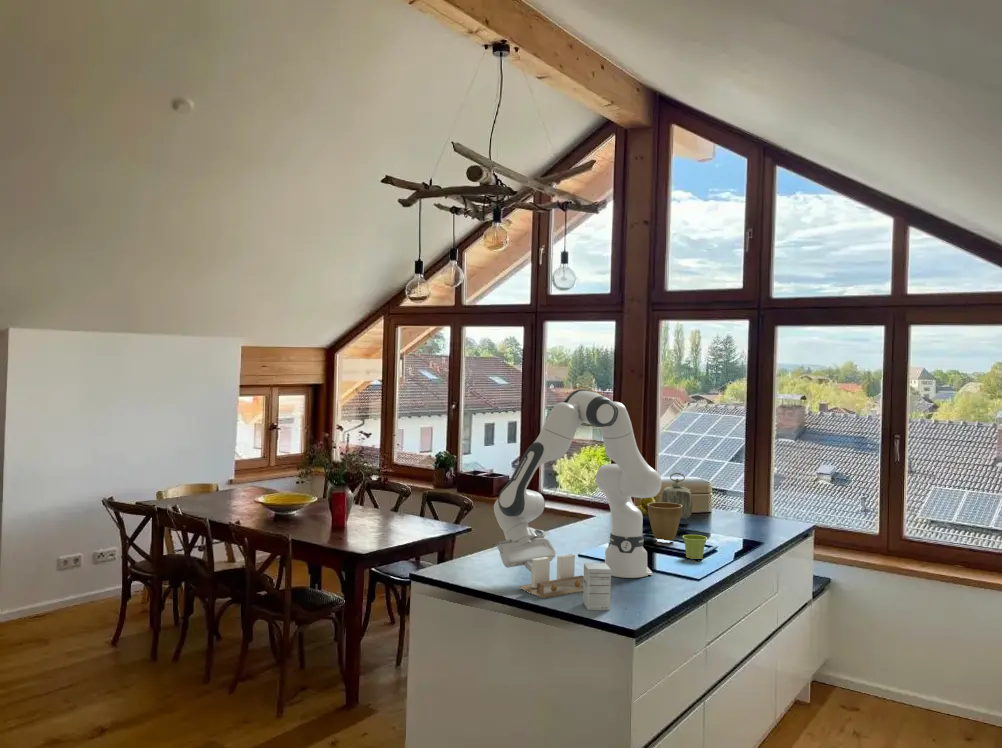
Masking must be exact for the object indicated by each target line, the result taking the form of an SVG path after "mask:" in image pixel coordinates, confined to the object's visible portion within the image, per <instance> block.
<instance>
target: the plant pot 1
mask: <svg viewBox="0 0 1002 748" xmlns="http://www.w3.org/2000/svg"><path fill="white" fill-rule="evenodd" d="M646 506H647V514H648V517H649V523H650V527H651V531H652V533H653V537H654V539H655V538H657V539H664V540H675V538H676V536H677V533H678V529H679V526H680V521H681V519H682V518H681V512H682V505H680V504H676V503H666V502H662V501H661V502H657V501H656V502H649V503H647V505H646Z"/></svg>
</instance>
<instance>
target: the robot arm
mask: <svg viewBox="0 0 1002 748" xmlns="http://www.w3.org/2000/svg"><path fill="white" fill-rule="evenodd" d="M582 424H587V425H591V426H593V427H596V428H600V433H601V438H602V442H603V445H604V446H603V447H604V450H605V454H606V456H607V457H608V459H610V460H611V461H613V462H614V463H609V464H602V465H601V466H600V467H599V468H598V470H597V471H596V475H595V483H596V485H597V488H598V489H599V490H600V491H601V492H602V493H603V494H604V496H605V498H606V500H607V502H608V505H609V509H610V516H611V517H610V518H611V520H610V521H611V524H610V525H611V528H610V529H611V532H610V534H609V546H607V547H606V549H605V551H604V557H605V558H604V563H605V564H607V565H608V567H609V568H610V569H611V577H616V578H617V577H618V578H625V579H626V578H627V579H629V578H630V579H634V578H635V579H637V578H643V577H649V576H648V575H651V576H653V571H652V570H651V569H650V568H649V567H648V564H649V563H648V551H647V550H646V549H645V548H644V546H643V545H644V540H645V539H644V535H643V525H644V524H643V523H644V522H643V519H644V518H643V513H642V511H641V510H640V509H639V508H638V506H636V505H635V503H634V502H633V500H632V498H638V499H647V498H648V499H650V498H654V497H656V496H657V495H658V494H659V493H660V492H661V488H662V477H661V475H660V473H659V472H658V471H657V470H655V469H654V468H653V467H652V466H651V465H649V464H648V462H647V461H646V460H645V458H644V457H643V455H642V454H641V452H640V450H639V448H638V445H637V441H636V438H635V434H634V429H633V426H632V425H633V424H632V421H631V419H630V415H629V412H628V410H627V408H626V406H625V405H624V404H623V403H622V402H619V401H612V400H611V399H610V398H608V397H606V396H603V395H602V394H600V393H597V392H595V391H589V390H587V389H576V390H573V391H572V392H570V394H568V395H567V398H566V399H565V400H563V402H562V401H561V402H558V403H556V404H555V405H554V406H553V408H552V409H551V411H550V412H549V414H548V416H547V417H546V419H545V421H544V423H543V426H542V429H541V430H540V432H539V434H538V436H537V438H536V439H535V441H533V443H531V444H530V445H529V446H528V448H527V449H526V450H525V452H524V453H523V456H522V457H521V459H520V461H519V462H518V465H517V466H516V468H515V469H514V471H513V474H512V475H511V477H510V479H509V481H508V482H507V483H506V485H504V487H503V488H502V489H501V490H500V492H499V494H498V498H497V499H496V500H495V502H494V504H493V512H494V515H495V518H496V520H497V523H498V526H499V527H500V529H501V530H502V531H503V534H504V537H505V540H500V541H499V542H498V543H497V545H496V546H497V547H496V548H497V549H498V551H499V555H500V559H501V562H502V564H503V566H504V567H506V568H509V569H510V568H515V567H520V566H524V567H525V569H526V570H528V571H529V572H531V569H532V559H535V558H542V557H548V558H550V562H552V561H553V560H554V558H555V557H556V554H557V553H556V551H555V548H554V546H553V545H552V543H551V541H550V540H549V539H548V538H547V537H546V532H545V531H544V530H542V529H537V528H534V527H529V523H530V522H533V521H535V520H536V519H538V518H539V517H541V515H542V514H544V512H545V507H546V501H545V498H544V496H543V494H542V493H540V492H538V491H535V490H532V489H527V488H528V486H529V484H530V482H531V481H532V478H533V477H534V475H535V473H536V471H537V470H538V468H540V466H542V465H544V464H546V463H548V462H551V461H557V460H559V459H561V458H563V457H564V456H565V455H566V454H567V452H568V451H569V449H570V447H571V445H572V442H573V440H574V438H575V434H576V431H577V430H578V428H579V427H580V426H581V425H582Z"/></svg>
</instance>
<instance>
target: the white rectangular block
mask: <svg viewBox="0 0 1002 748" xmlns="http://www.w3.org/2000/svg"><path fill="white" fill-rule="evenodd" d="M550 564H551V561H550V558H548V557H542V558H535V559H532V564H531V565H532V569H531V571H530V576H531V577H530V584H531V587H533V588H537V583H540V582H546V581H550V574H551V573H550V571H551V570H550V566H551V565H550Z"/></svg>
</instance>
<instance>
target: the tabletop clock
mask: <svg viewBox="0 0 1002 748" xmlns="http://www.w3.org/2000/svg"><path fill="white" fill-rule="evenodd" d="M674 475H680V476H682V477H683V479H680V480H679V478H676V479H673V478H672V476H674ZM669 479H670V480H671V481H673V483H672V486H666V487H664V488H663V490H662V494H661V502H666V503H676V504H680V505H682V512H681V518H680V519H684V520H685V523H686V522H689V523H690V521H689V520H688V518H690V517H691V515H692V512H693V496H692V492H691V489H690V488H688V487H684V486H683V485H682V483H681V482H684V481H685V479H686V476H685V475H684V474H683V473H681V472H674V473H672V474H671V475H670V477H669Z"/></svg>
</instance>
